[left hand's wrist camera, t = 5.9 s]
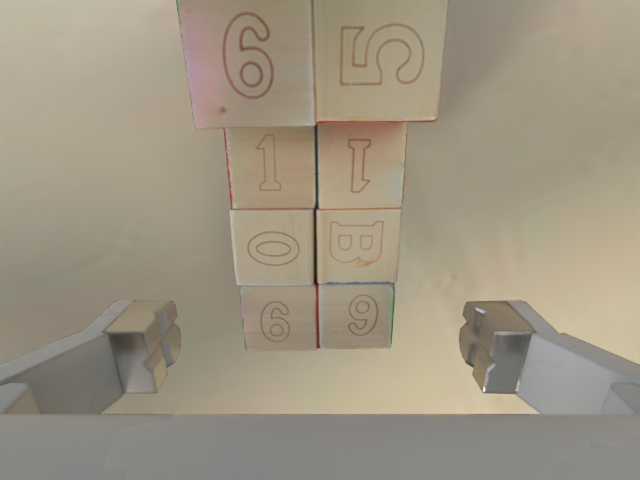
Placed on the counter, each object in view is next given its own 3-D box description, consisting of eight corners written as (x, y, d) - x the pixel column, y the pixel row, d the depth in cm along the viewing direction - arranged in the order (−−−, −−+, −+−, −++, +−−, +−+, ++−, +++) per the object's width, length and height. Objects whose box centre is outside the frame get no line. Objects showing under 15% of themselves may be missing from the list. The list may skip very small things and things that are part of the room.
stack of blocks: (363, 260, 23) (409, 411, 12) (267, 261, 23) (221, 413, 12) (383, -181, 16) (561, -929, 4) (241, -182, 16) (44, -944, 4)
